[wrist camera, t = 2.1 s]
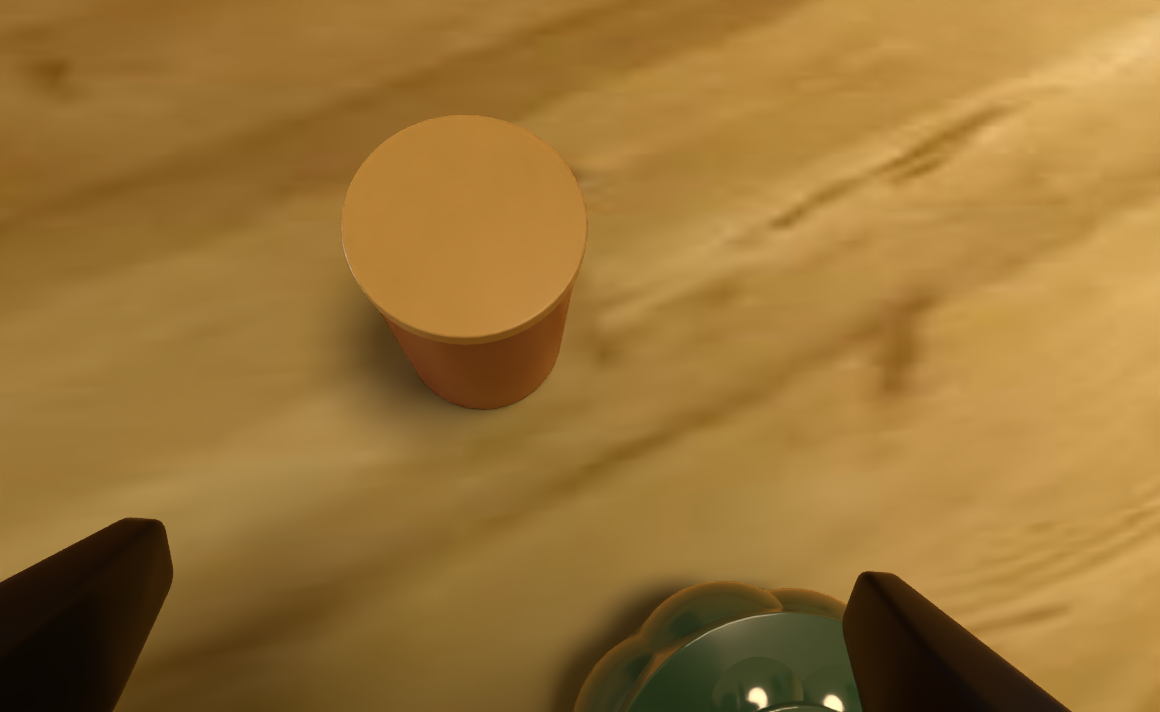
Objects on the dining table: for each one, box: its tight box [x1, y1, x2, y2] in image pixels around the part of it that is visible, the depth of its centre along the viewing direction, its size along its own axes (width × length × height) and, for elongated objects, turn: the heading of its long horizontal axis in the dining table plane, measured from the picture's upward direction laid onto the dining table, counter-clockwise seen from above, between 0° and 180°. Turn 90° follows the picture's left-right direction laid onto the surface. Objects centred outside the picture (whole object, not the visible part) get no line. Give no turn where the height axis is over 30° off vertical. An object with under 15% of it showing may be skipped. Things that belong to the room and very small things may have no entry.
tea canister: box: [341, 115, 588, 409], centre depth 20 cm, size 6×6×9 cm
